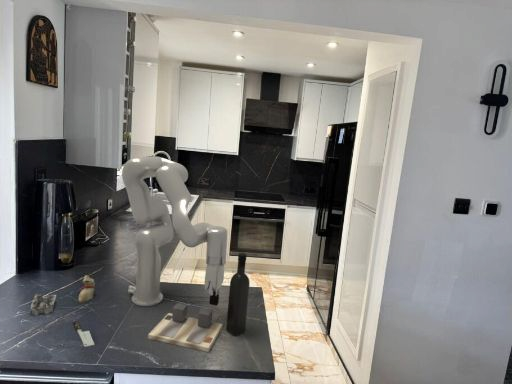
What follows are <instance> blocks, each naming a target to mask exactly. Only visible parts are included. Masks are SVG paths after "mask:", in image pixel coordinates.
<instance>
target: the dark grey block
mask: <svg viewBox="0 0 512 384" xmlns="http://www.w3.org/2000/svg"><path fill="white" fill-rule="evenodd" d="M172 314H173V315H172V321H177V322H183V321H184V320H185V319H186V317H188V315H187V314H188V304H184V303H180V302H177V303H176V304H175V305H174V306H173V307H172Z"/></svg>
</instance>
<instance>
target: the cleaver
mask: <svg viewBox="0 0 512 384" xmlns="http://www.w3.org/2000/svg"><path fill="white" fill-rule="evenodd" d="M72 324H73V327H74V329H75V332H76V333H78V336H79V338H80V339H81V342H82V344H83V346H84V348H88V347H91V346H95V342H94V340H93V338H92V334H91V333H90V330H86V331H83V329H82V327H81V324H80V323H79V321H78V320H77V319H76V320H75V319H74V320H73V322H72Z"/></svg>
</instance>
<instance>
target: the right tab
mask: <svg viewBox="0 0 512 384" xmlns="http://www.w3.org/2000/svg"><path fill="white" fill-rule="evenodd" d="M197 319H198V326H200V327H205V328H208V327H209V326H210V324H211V323H212V322H213V321H212V320H213V309H209V308H205V307H202V308H201V309H200V310H199V311H198V315H197Z"/></svg>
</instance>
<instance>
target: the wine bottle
mask: <svg viewBox="0 0 512 384" xmlns="http://www.w3.org/2000/svg"><path fill="white" fill-rule="evenodd" d="M237 255H238V256H237V260H238V261H237V268H236V270H237V271H236V272H235V273H233V275H232V276H231V279H230V282H229V292H228V302H227V303H228V304H227V305H228V307H227V316H226V324H225V326H226V328H225V330H226V331H227V332H228V333H229V334H231V335H232V336H234V337H236V336H239V335H241V334H244V333H245V332H246V324H247V313H248V304H249V303H248V302H249V293H250V278H249V275H247V274H246V263H247V257H248V255H247V254H246V253H243V252H239V253H238V254H237Z"/></svg>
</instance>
